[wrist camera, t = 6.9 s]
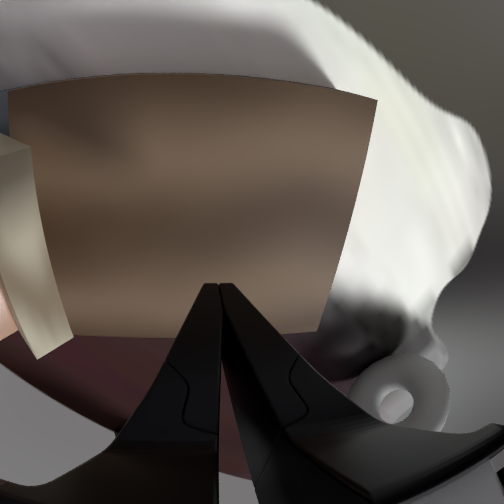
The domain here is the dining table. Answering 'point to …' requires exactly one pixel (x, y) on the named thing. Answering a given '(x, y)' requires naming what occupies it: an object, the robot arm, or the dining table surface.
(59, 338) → the tile lower
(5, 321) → the tile upper
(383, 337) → the dining table surface
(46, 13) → the dining table surface
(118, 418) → the dining table surface
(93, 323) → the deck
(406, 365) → the donut
